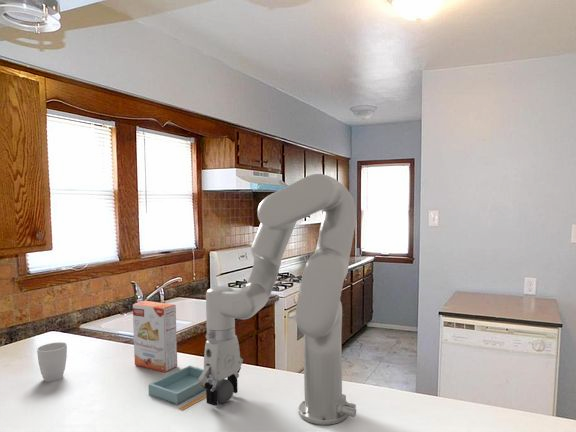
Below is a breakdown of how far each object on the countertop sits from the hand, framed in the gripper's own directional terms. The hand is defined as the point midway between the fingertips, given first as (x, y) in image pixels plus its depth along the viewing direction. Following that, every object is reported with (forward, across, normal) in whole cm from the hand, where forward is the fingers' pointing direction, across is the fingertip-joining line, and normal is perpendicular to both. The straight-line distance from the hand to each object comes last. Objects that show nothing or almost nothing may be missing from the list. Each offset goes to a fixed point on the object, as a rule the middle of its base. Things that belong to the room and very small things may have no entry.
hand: (222, 397), depth 113 cm
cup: (+1, -16, +56) cm, 58 cm away
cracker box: (+1, +7, +36) cm, 37 cm away
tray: (+1, 0, +13) cm, 13 cm away
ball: (+1, 0, 0) cm, 1 cm away
